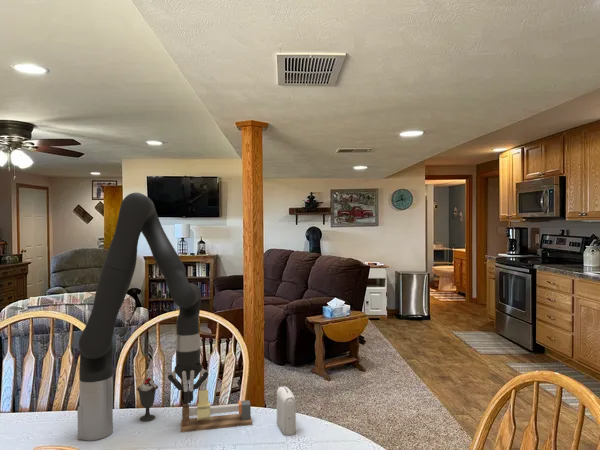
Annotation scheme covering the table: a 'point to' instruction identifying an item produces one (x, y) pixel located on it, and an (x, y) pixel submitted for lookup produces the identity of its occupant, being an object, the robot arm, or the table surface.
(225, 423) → the wooden bracket
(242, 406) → the sliding door bolt
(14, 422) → the table surface
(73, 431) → the table surface
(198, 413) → the marker sleeve
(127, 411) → the table surface
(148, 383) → the sundae
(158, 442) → the table surface
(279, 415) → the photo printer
